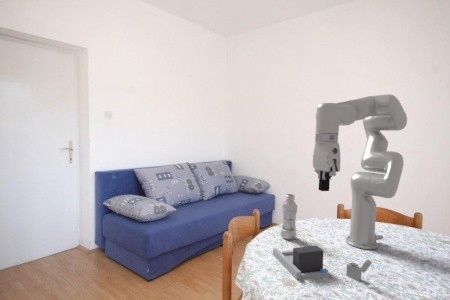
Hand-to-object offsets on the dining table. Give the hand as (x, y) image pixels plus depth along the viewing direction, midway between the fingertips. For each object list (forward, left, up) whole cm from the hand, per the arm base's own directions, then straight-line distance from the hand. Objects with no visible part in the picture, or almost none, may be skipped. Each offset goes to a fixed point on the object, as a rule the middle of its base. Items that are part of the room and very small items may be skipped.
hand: (323, 190), depth 94 cm
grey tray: (+8, 0, -27) cm, 28 cm away
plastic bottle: (0, -24, -27) cm, 36 cm away
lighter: (-6, +12, -27) cm, 30 cm away
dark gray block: (+7, +3, -26) cm, 27 cm away
